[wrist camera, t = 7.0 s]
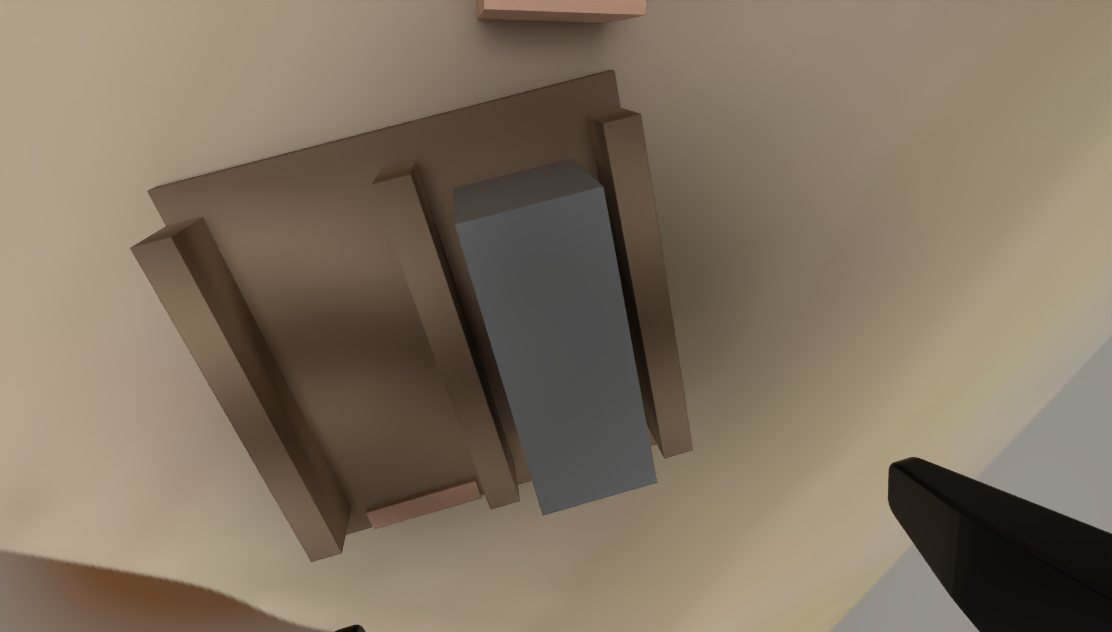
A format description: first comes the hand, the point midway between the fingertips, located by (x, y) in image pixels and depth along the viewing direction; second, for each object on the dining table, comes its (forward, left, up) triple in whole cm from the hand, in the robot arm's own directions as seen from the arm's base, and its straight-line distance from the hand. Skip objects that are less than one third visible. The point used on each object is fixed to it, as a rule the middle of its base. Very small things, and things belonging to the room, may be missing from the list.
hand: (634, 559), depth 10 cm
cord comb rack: (+3, 0, -11) cm, 11 cm away
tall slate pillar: (0, 0, -10) cm, 10 cm away
